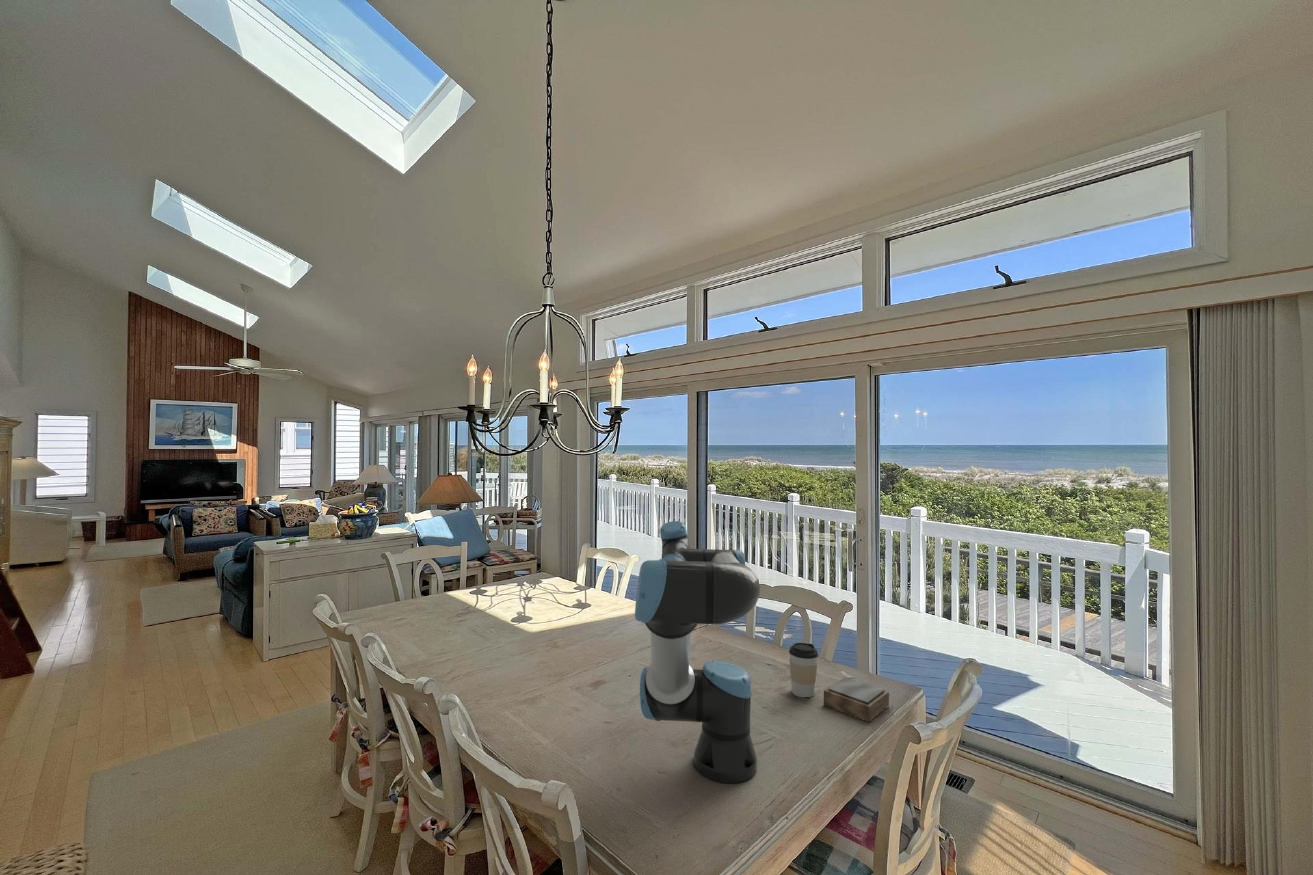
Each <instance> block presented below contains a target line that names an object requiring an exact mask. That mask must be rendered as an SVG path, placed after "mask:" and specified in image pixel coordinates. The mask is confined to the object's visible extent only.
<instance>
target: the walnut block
mask: <svg viewBox="0 0 1313 875" xmlns="http://www.w3.org/2000/svg"><path fill="white" fill-rule="evenodd" d="M823 706H826V707H828V708H831V709H833V708H834V710H835V709H836V711H838V710H840V711H839V712H841V713H843V712H845V713H844V714H846V713H847V715H849V714H851V715H853V716H852V717H854V716H856V717H858V718H857V719H859V718H860V719H859V720H862V719H864V720H866V721H865V722H867V721H871V720H872V719H873V718H874V717H875V716H877V714H879V713H880V712H881V711H882V710H884V709H885V708H886V707H887V706H889V707H890V692H889V691H888V690H885V689H883V688H880V687H877V686H874V685H873V684H872V685H871V684H869V683H865V682H861V681H859V680H856V679H853V678H850V677H847V676H846V677H843V678H841V679H840V680H838V681H837V682H835V683H833V684H831V685H830V686H828V687H827V688H825V689H824V690H823ZM886 709H887V708H886ZM886 709H885V710H886ZM885 710H884V711H885ZM880 714H881V713H880ZM880 714H879V715H880ZM851 715H850V716H851ZM856 717H855V718H856ZM877 717H878V716H877ZM875 718H876V717H875ZM875 718H874V719H875ZM874 719H873V720H874ZM864 720H863V721H864ZM873 720H872V721H873ZM872 721H871V722H872Z"/></svg>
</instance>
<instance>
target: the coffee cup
mask: <svg viewBox="0 0 1313 875" xmlns="http://www.w3.org/2000/svg"><path fill="white" fill-rule="evenodd" d="M788 653H789V671H790V672H789V673H790V680H791V681H790V682H791V692H792V694H793V695H795V696H796V697H799V698H803V697H810V698H812V696H813V695H815V688H816V687H815V686H816V682H817V680H816V679H817V670H818V657H819V652H818V650H817V649H816V648H815V645H814V644H813V643H807V642H796V643H793V644H792V646H790V648H789V651H788ZM813 697H814V696H813Z"/></svg>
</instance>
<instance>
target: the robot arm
mask: <svg viewBox="0 0 1313 875" xmlns="http://www.w3.org/2000/svg"><path fill="white" fill-rule="evenodd" d="M659 534H660V539H661V558H660V559H657V560H655V559H653V560H652V559H650V560H649V559H648V560H645V561H643V562H642V564H641V565H640V567H639V574H638V582H637V589H636V595H635V607H634V619H635V620H636V621H637V622H641V623H642V624H643V623H644V625H645V626H646V628H647V630H648V631H649V632H650V647H651V648H650V652H651V655H650V656H651V663H650V665H649V666H646V667H643V669H642V670H641V672H640V680H639V699H640V709H641V713H642V716H643V717H644V718H645V719H647V720H653V721H655V722H660V721H666V722H667V721H669V722H689V723H690V722H693V723H701V731H700V734H699V737H698V740H697V743H696V745H695V748H694V752H693V753H694V754H693V764H694V767H695V769H696V771H697V772H698V773H699V774H700V775H701V776H703V777H705V778H706V779H708V780H711V781H714V782H717V783H722V784H723V783H724V784H738V783H743V782H746V781H748V780H750V779H751V778H753V777H754V775H756V773H757V770H758V769H757V768H758V764H757V763H758V758H757V754H756V751H755V750H756V749H755V746H754V743H753V740H752V736H751V697H752V696H753V695H752V687H751V682H752V681H751V678H750V676H749V673H748V672H747V671H746V670H745V669H743V668H742V667H740V666H738V665H737V664H733V663H731V662H727V661H722V660H711V661H707V662H705V663H704V664H703V666H702V669H700V668H699V669H697V668H693V667H691V664H690V658H691V654H690V653H691V639H692V638H691V637H692V633H693V631H694V630H695V629H696V628H697V626H698V624H699V625H713V627H714V628H717V627H718V625H722V624H723V625H724V624H725V625H726V624H729V623H732V622H735V621H736V620H737V621H738V620H739V619H741V618H742V617H745V616H746V615H747V614H748V613H749V612H751V611H752V610H753V609H754V607H755V606H756V604H757V603H758V601H759V598H760V593H761V585H760V582H759V578H758V576H757V575H756V573H755V572H754V571H753V570H752V569H751V568H750V567H749V566H748V565H746V557H745V553H744V552H743V550H738V549H731V548H730V549H713V548H712V549H706V548H691V547H690V542H689V537H688V534H689V533H688V531H687V527H686V524H685V523H684V522H683V521H679V520H673V521H672V520H671V521H668V522H666V523H663V525H661V526H660V529H659Z"/></svg>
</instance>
